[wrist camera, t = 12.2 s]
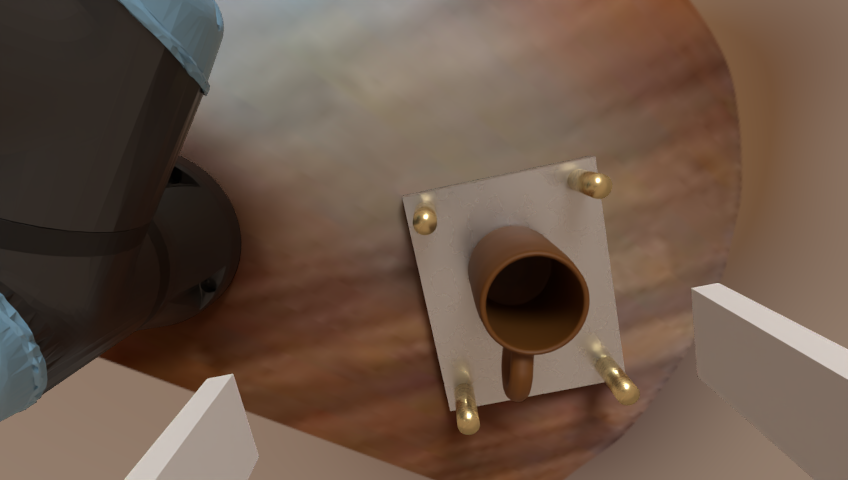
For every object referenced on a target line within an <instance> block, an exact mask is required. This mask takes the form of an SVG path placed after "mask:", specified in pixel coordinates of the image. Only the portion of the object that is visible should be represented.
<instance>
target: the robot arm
mask: <svg viewBox="0 0 848 480" xmlns="http://www.w3.org/2000/svg"><path fill="white" fill-rule="evenodd" d="M223 32H224V23H223V18H222V14H221V12H220V10H219V7H218V5H217V4H216V2H215V1H214V0H0V421H2V420H4V419H6V418H8V417H10V416H12V415H14V414H15V413H18V412H21V411H23V410H26V409H27V408H28V407H30V406H31V405H33V404H34V403H36V402H37V400H38V399H40V398H41V396H42V395H43V394H44V393H45V392H47V391H48V390H50V389H51V388H53V387H54V386H56V385H57V384H59V383H60V382H62V381H63V380H64V379H66V378H67V377H69V376H70V375H72V374H73V373H75V372H76V371H78V370H79V369H81V368H82V367H84V366H85V365H86V364H88V363H89V362H91V361H92V360H94V359H95V358H97V357H98V356H100V355H101V354H103V353H104V352H106V351H107V350H108V349H110V348H111V347H113V346H114V345H116V344H117V343H119V342H120V341H122V340H123V339H125V338H126V337H127V336H129V335H130V334H132V333H133V332H135V331H136V330H143V329H150V328H156V327H163V326H169V325H173V324H176V323H179V322H182V321H184V320H187V319H189V318H191V317H193V316H195V315H197V314H198V313H200V312H201V311H203V310H204V309H205V308H206V307H208V306H209V305H210V304H212V303H213V302H214V301H215V300H216V299H218V298H219V297H220V296H221V295H222V294H223V292H224V291H225V290H226V289H227V287H228V286H229V284H230V282H231V281H232V279H233V277H234V275H235V272H236V270H237V267H238V263H239V259H240V252H241V236H240V229H239V224H238V220H237V217H236V214H235V211H234V209H233V207H232V205H231V203H230V201H229V199H228V197H227V196H226V194H225V193H224V191H223V190H222V189H221V187H220V186H219V185H218V184H217V183H216V181H215V180H214V179H213V178H212V177H211V176H210V175H209V174H207V173H206V172H205V171H204V170H203V169H201V168H200V167H198V166H197V165H195V164H194V163H192V162H191V161H189V160H187V159H185V158H183V157H180V156H179V153H180V151H181V148H182V146H183V144H184V141H185V139H186V136H187V134H188V131H189V129H190V126H191V124H192V121H193V119H194V116H195V114H196V111H197V109H198V106H199V104H200V101H201V99H202V97H203V95H205V96H207V94H208V92H209V88H210V85H209V83H208V79H209V76H210V73H211V70H212V67H213V64H214V61H215V59H216V56H217V53H218V50H219V47H220V44H221V41H222V38H223ZM691 293H692V307H693V321H694V336H695V350H696V363H697V377H699V378H700V379H701V380H702V381H703V382H704V383H705V384H706V385H708V386H709V387H710V388H711V389H712V390H713V391H714V392H716V393H717V394H718V395H719V396H720V397H721V398H723V400H725V401H726V402H727V403H728V404H729V405H730V406H731V407H732V408H734V409H735V410H736V411H737V412H738V413H739V414H740V415H742V416H743V417H744V418H745V419H746V420H747V421H748V422H749V423H751V424H752V425H753V426H754V427H755V428H756V429H757V430H759V431H760V432H761V433H762V434H763V435H764V436H765V437H766V438H768V439H769V440H770V441H771V442H772V443H773V444H774V445H775V446H777V447H778V448H779V449H780V450H781V451H782V452H784V453H785V454H786V455H787V456H788V457H789V458H790V459H791V460H793V461H794V462H795V463H796V464H797V465H798V466H799V467H800V468H802V469H803V470H804V471H805V472H806V473H807V474H808V475H809V476H811V477H812V478H813V479H814V480H848V349H846V348H844V347H841V346H840V345H838V344H836V343H834V342H832V341H830V340H828V339H826V338H825V337H823V336H820V335H819V334H817V333H815V332H813V331H811V330H809V329H807V328H805V327H803V326H801V325H799V324H797V323H795V322H793V321H791V320H790V319H788V318H785V317H784V316H782V315H780V314H778V313H776V312H774V311H772V310H770V309H768V308H766V307H764V306H762V305H760V304H758V303H756V302H754V301H753V300H751V299H748V298H747V297H745V296H742V295H741V294H739V293H737V292H735V291H733V290H731V289H729V288H727V287H725V286H723V285H721V284H720V283H716V284H711V285H705V286H700V287H695V288H691ZM258 457H259V455H258V452H257V448H256V445H255V442H254V439H253V436H252V432H251V429H250V426H249V423H248V420H247V416H246V413H245V410H244V407H243V403H242V400H241V397H240V394H239V391H238V387H237V384H236V381H235V378H234V375H233V374H229V375H224V376H219V377H213V378H208V379H206V381H205V382H204V383H203V384H202V386H201V387H200V388H199V389H198V390H197V392H196V393H195V394H194V395H193V396H192V398H191V399H190V400H189V401H188V403H187V404H186V405H185V406H184V407H183V409H182V410H181V411H180V412H179V414H178V415H177V416H176V417H175V418H174V419H173V421H172V422H171V423H170V424H169V426H168V427H167V428H166V429H165V430H164V432H163V433H162V434H161V435H160V436H159V438H158V439H157V440H156V441H155V443H154V444H153V445H152V446H151V447H150V449H149V450H148V451H147V452H146V453H145V455H144V456H143V457H142V458H141V459H140V461H139V462H138V463H137V464H136V466H135V467H134V468H133V469H132V470H131V472H130V473H129V474H128V475H127V476H126V478H125V479H124V480H248V478H249V476H250V474H251V472H252V470H253V468H254V466H255V464H256V462H257V459H258Z"/></svg>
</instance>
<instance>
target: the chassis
mask: <svg viewBox="0 0 848 480" xmlns="http://www.w3.org/2000/svg"><path fill="white" fill-rule="evenodd" d="M611 189H612V182H611V179H610V178H609V177H608V176H606V175H604V174H600V173H597V166H596V158H595V156H585V157H581V158H576V159H571V160H567V161H562V162H557V163H553V164H548V165H543V166H538V167H534V168H529V169H524V170H520V171H515V172H510V173H506V174H501V175H496V176H492V177H487V178H482V179H477V180H473V181H468V182H463V183H459V184H454V185H449V186H445V187H440V188H435V189H431V190H426V191H421V192H416V193H412V194H407V195H403V197H402V199H403V203H404V208H405V212H406V217H407V221H408V225H409V230H410V234H411V239H412V243H413V248H414V252H415V257H416V261H417V265H418V270H419V274H420V279H421V283H422V288H423V292H424V297H425V301H426V306H427V310H428V314H429V319H430V323H431V328H432V332H433V337H434V341H435V346H436V350H437V354H438V359H439V363H440V368H441V372H442V377H443V381H444V386H445V390H446V395H447V399H448V403H449V408H450V411H455V410H456V416H457V426H458V429H459V431H460V432H461V433H463V434H466V435H471V434H474V433H476V432H477V431H478V429H479V427H480V422H479V416H478V410H477V406H481V405H486V404H492V403H497V402H502V401H508V400H510V399H509V398H507V396H506V395H505V392H504V389H503V384H502V371H501V363H502V350H503V347H502V346H501V345H499V344H498V343H497V342H496V341H495V340H494V339H493V338H492V337H491V336H490V335H489V334H488V332H487V331H486V329H485V327H484V325H483V323H482V321H481V319H480V317H479V315H478V312H477V310H476V306H475V302H474V299H473V295H472V291H471V287H470V282H469V277H468V264H469V259H470V256H471V254H472V252H473V250H474V248H475V246H476V245H477V243H478V242H479V241H480V240H481V239H482V238H483V237H484V236H485V235H487V234H488V233H490V232H492V231H493V230H496V229H498V228H501V227H505V226H523V227H527V228H530V229H533V230H535V231H537V232H539V233H540V234H542V235H543V236H544V237H546V238H547V239H548V240H549V241H550V242H552V243H553V244H554V245H555V246H556V247H558V248H559V249H560V250H561V251H562V252H563V253H564V254H566V255H567V256H568V257H569V258H570V259H571V261H572V262H573V263H574V264H575V266H576V267H577V268H578V269H579V271H580V272H581V274H582V275H583V277H584V279H585V281H586V283H587V286H588V290H589V298H590V304H589V311H588V315H587V318H586V320H585V323H584V325H583V326H582V328H581V330H580V331H579V333H578V334H577V335H576V336H575V337H574V338H573V339H572V340H571V341H570V342H569V343H567V344H566V345H564V346H563V347H561V348H559V349H557V350H555V351H553V352H550V353H546V354H541V355H534V366H533V381H532V387H531V391H530V394H529V396H534V395H540V394H545V393H550V392H556V391H561V390H566V389H571V388H577V387H582V386H587V385H593V384H598V383H603V382H605V383H606V384H607V386H608V387H609V389H610V390H611V391H612V393H613V394H614V396H615V397H616V398H617V400H618V401H619V402H620V403H621V404H623V405H632V404H634V403H635V402H637V400H638V399H639V396H640V392H639V390H638V388H637V387H636V386H635V385H634V383H633V382H632V381H631V380H630V378H629V377H628V376H627V375H626V374H625V369H624V362H623V354H622V347H621V340H620V333H619V325H618V318H617V311H616V304H615V296H614V289H613V282H612V275H611V267H610V260H609V253H608V245H607V238H606V231H605V224H604V216H603V209H602V202H601V199H602V198H605V197H606V196H608V195H609V193H610V192H611ZM529 396H528V397H529Z"/></svg>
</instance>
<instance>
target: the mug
mask: <svg viewBox="0 0 848 480" xmlns="http://www.w3.org/2000/svg"><path fill="white" fill-rule="evenodd" d="M468 277H469V282H470V287H471V291H472V295H473V299H474V302H475V306H476V310H477V312H478V315H479V317H480V319H481V321H482V323H483V325H484V327H485V329H486V331H487V332H488V334H489V335H490V336H491V337H492V338H493V339H494V340H495V341H496V342H497V343H498V344H499V345H501V346H502V347H503V350H502V363H501V371H502V384H503V389H504V392H505V395H506V396H507V398H509V399H510V400H512V401H514V402H522V401H523V400H525V399H526V398H527V397H528V396H529V394H530V391H531V387H532V381H533V366H534V355H541V354H546V353H550V352H553V351H555V350H557V349H559V348H561V347H563V346H564V345H566V344H567V343H569V342H570V341H571V340H572V339H573V338H574V337H575V336H576V335H577V334H578V333H579V331H580V330H581V328H582V326H583V325H584V323H585V320H586V318H587V315H588V311H589V304H590V298H589V290H588V286H587V283H586V281H585V279H584V277H583V275H582V274H581V272H580V271H579V269H578V268H577V267H576V266H575V264H574V263H573V262H572V261H571V259H570V258H569V257H568V256H567V255H566V254H564V253H563V252H562V251H561V250H560V249H559V248H558V247H556V246H555V245H554V244H553V243H552V242H550V241H549V240H548V239H547V238H546V237H544V236H543V235H542V234H540V233H539V232H537V231H535V230H533V229H530V228H527V227H523V226H505V227H501V228H498V229H496V230H493V231H492V232H490V233H488V234H487V235H485V236H484V237H483V238H482V239H481V240H480V241H479V242H478V243H477V245H476V246H475V248H474V250H473V252H472V254H471V256H470V259H469V264H468Z"/></svg>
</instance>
